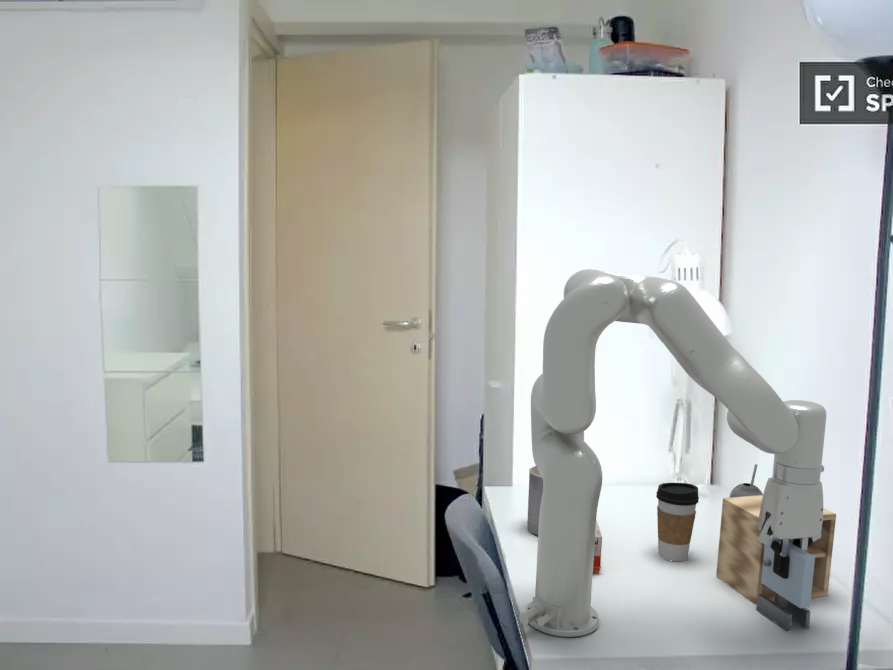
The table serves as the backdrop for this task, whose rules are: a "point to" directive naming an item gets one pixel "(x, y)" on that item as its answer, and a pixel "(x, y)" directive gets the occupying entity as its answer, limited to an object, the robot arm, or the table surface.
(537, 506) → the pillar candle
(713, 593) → the table surface
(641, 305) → the robot arm
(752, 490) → the beverage cup
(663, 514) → the coffee cup
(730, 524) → the cabinet
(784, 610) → the hinge clips
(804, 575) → the door panel
